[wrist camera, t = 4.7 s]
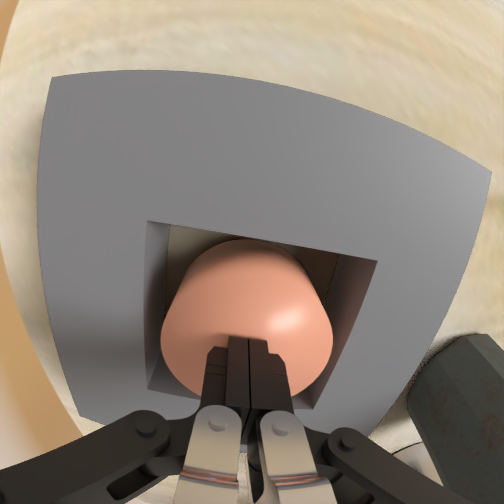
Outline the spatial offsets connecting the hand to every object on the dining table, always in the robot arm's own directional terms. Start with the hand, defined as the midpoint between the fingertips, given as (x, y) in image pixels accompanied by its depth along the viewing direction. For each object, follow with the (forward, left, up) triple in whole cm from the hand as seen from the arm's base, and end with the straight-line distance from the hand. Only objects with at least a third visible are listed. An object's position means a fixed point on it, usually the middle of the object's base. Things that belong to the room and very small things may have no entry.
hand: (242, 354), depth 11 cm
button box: (0, 0, -5) cm, 5 cm away
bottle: (-20, +6, -5) cm, 22 cm away
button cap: (0, 0, -4) cm, 4 cm away
